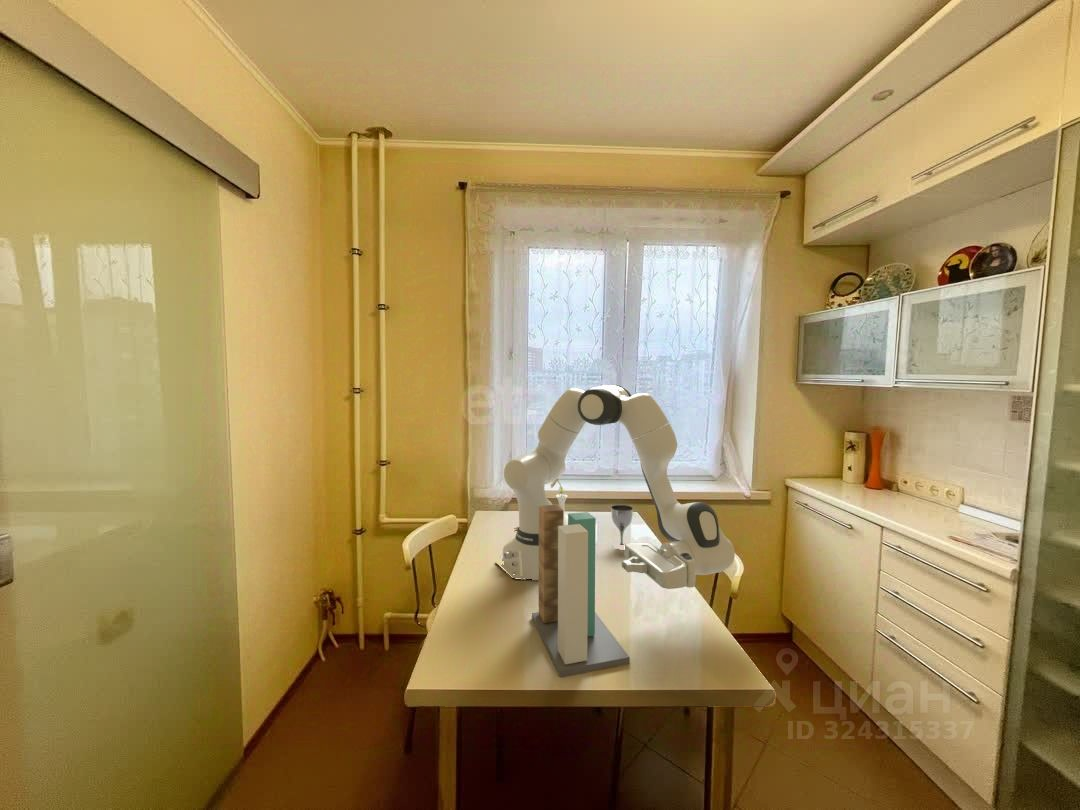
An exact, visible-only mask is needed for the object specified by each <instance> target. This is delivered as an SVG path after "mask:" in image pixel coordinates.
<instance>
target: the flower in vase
mask: <svg viewBox="0 0 1080 810" xmlns="http://www.w3.org/2000/svg"><path fill="white" fill-rule="evenodd" d="M557 482H558V484H559V488H558V491H559V493H558V494H556V495H555V497H556V498H557V501H558V506H559V507H561V508H562V509H563V510H564V525H568V514H567V513H566V511H565V503H566V499H567V498H568V495H567V494H563V493H564V492H565V489H564V488H563V487H562V485H561V483H560V481H559V478H558V479H556V480H555V481H553V482H551V483H550V488H554V487H555V486H556V484H557Z"/></svg>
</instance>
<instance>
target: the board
mask: <svg viewBox="0 0 1080 810" xmlns="http://www.w3.org/2000/svg"><path fill="white" fill-rule="evenodd" d="M531 619H533V620H532V621H533V624H534V626H535V628H536V630H537V632H538V635H539V636H540V638H541V641H542V643H543V644H544V647H545V649H546V651H547V653H548V656H549V657H550V660H551V662H552V664H553V666H554V668H555V670H556V673H557V675H558V677H559V678H563V677H569V676H574V675H579V674H583V673H589V672H594V671H600V670H605V669H609V668H614V667H620V666H625V665H630V664H631V662H630V661H631V657H630V655H629V654H628V653H627V651H625V648H623V646H622V645H621V644H620V642H619V641H618V640H617V639H616V637H615V636H614V634H613V633H612V632H611V631H610V629H609V628H608V627H607V625H606V624H605V622H603V621H602V619H601V617H600V616H599V615H598V614H597V612H595V635H594V636H588V637H587V661H582V662H576V663H571V664H566V665H565V663H564V661H563V659H562V657H561V655H560V654H559V652H558V621H557V622H551V623H544V622H543V621H542V619H541V617H540V615H539V611H537V612H536V611H535V612H532V613H531Z"/></svg>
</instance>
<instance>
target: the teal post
mask: <svg viewBox="0 0 1080 810" xmlns="http://www.w3.org/2000/svg"><path fill="white" fill-rule="evenodd" d="M567 516H568V525H575V524H580V525H581V526H582V527H584V528H585V529H586V530H587V531H588V630H587V637H588V636H594V635H595V613H596V521H597V520H596V516H593V515H592V514H591V513H590V512H588V511H584V512H572V513H571V512H569V513H567Z"/></svg>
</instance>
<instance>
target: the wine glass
mask: <svg viewBox="0 0 1080 810" xmlns="http://www.w3.org/2000/svg"><path fill="white" fill-rule="evenodd" d="M610 509H611V510H610V513H611V514H610V515H611V519H612V522H613V524H614V525H615V526H616V528H617V529H618V530H619V535H620V542H619V543H620V545H624V544H625V543H624V542H623V541H624V540H623V539H624V532H625V530H627V528H628V527H629V526H630V524H631V523H632V520H633V515H634V508H633V506H631V505H628V504H614V505H611V508H610ZM623 543H624V544H623Z"/></svg>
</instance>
